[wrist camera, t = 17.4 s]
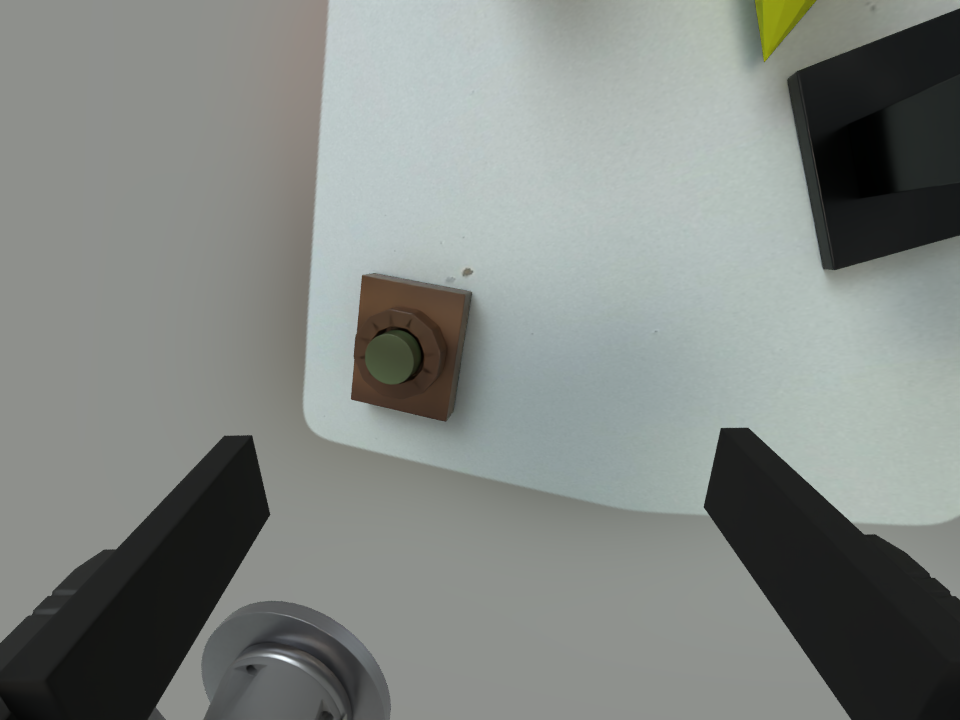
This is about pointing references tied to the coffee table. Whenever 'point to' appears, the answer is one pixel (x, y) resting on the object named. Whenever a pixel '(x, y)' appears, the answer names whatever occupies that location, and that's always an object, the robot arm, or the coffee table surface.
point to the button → (393, 357)
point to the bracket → (883, 143)
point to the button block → (434, 326)
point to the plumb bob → (778, 20)
